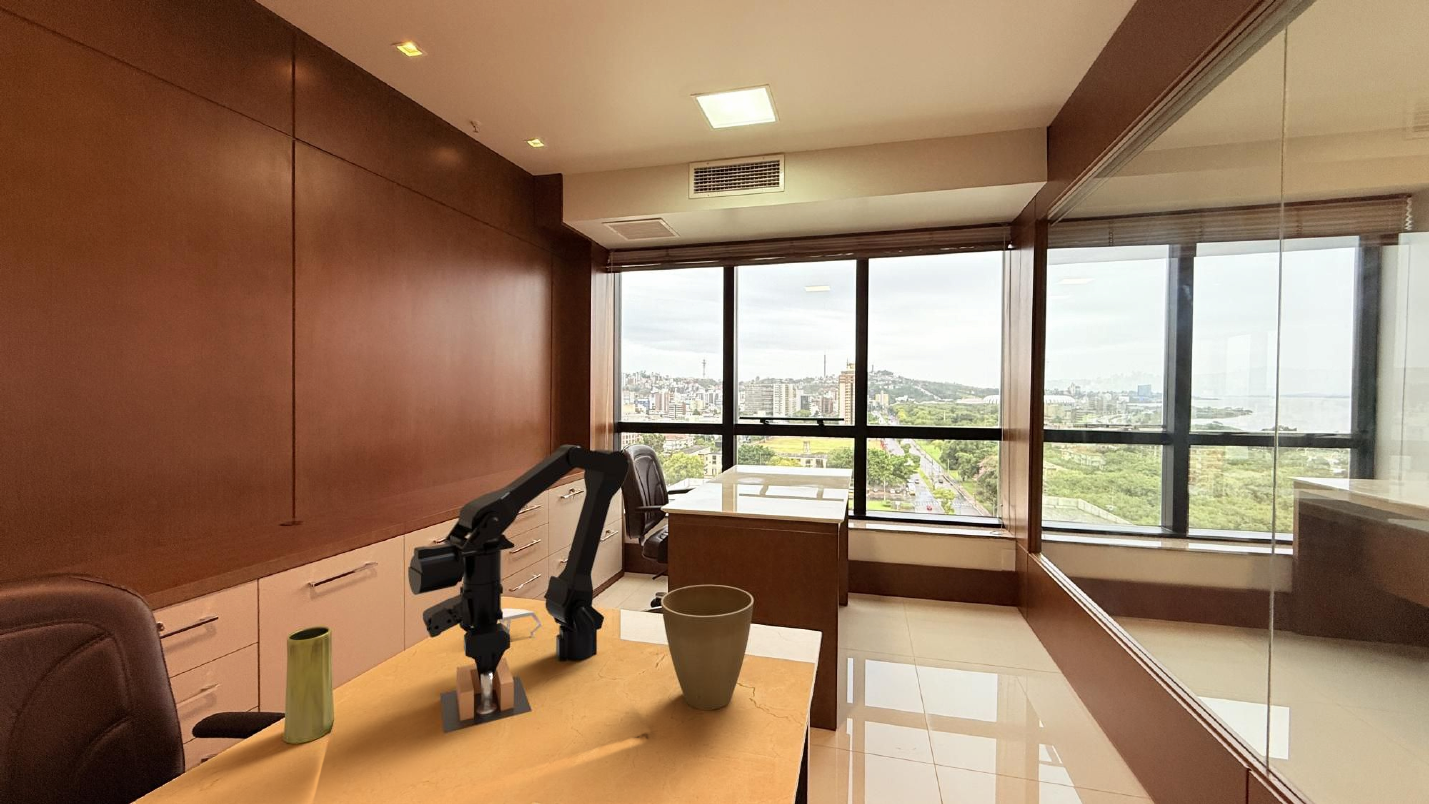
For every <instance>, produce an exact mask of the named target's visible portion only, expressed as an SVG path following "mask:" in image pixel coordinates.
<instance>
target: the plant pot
mask: <svg viewBox="0 0 1429 804" xmlns="http://www.w3.org/2000/svg"><path fill="white" fill-rule="evenodd" d="M660 604H661V605H660V606H661V612H662V617H663V626H664V629H665V631H664V632H665V635H666V639H667V640H666V641H667V646H668V649H669V653H670V658H671V661H672V665H673V667H674V671H675V674H676V678H677V680H678V683H679V686H680V688H681V692H682V694H683V697H684V699H685V701H686V703H687V704H688V705H689V706H690V707H692V708H695V709H699V710H705V711H707V710H708V711H710V710H716V709H717V710H718V709H721V708H723V707H725V706H727V705H728V704H729V703H730V701H731V699H732V697H733V694H734V692H735V688H736V686H737V683H738V679H739V677H740V674H741V670H742V665H743V662H744V659H745V654H746V651H747V650H746V649H747V646H748V642H749V641H748V640H749V637H750V636H749V635H750V631H751V624H752V618H753V611H754V610H753V608H754V597H753V595H752V594H751V593H749V592H748V591H745V590H743V589H742V588H741V589H740V588H737V587H735V586H734V587H733V586H728V585H720V584H718V585H716V584H699V585H689V586H684V587H680V588H676V589H673V590H671V591H669V592H667V593H666V594H665V595H663V596H662V598H661V600H660Z"/></svg>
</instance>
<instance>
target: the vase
mask: <svg viewBox="0 0 1429 804" xmlns="http://www.w3.org/2000/svg"><path fill="white" fill-rule="evenodd" d="M332 635H333V632H332V628H331V627H329V626H325V625H323V626H322V625H317V626H316V625H315V626H311V627H305V628H301V629H299V630H296V631H293V632H291V633H290V634H288V635H287V637H286V680H285V681H286V682H285V683H286V684H285V685H286V686H285V702H284V703H285V707H284V708H285V709H284V711H285V712H284V727H283V735H282V740H283V741H284V742H285V743H287V744H293V745H294V744H295V745H297V744H298V745H299V744H305V743H309V742H312V741H315V740H317V739H319V738H321V737H323V736H325V735H326V734H329V732H330V731H332V729H333V727H334V722H335V707H334V706H335V705H334V691H333V690H334V689H333V662H332V659H333V658H332V657H333V653H332V652H333V650H332V649H333V648H332V647H333V645H332V643H333V641H332V640H333V636H332Z"/></svg>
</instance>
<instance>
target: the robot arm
mask: <svg viewBox="0 0 1429 804" xmlns="http://www.w3.org/2000/svg"><path fill="white" fill-rule="evenodd" d="M574 469H579V470H583V471H584V473H583V479H584V484H585V491H586V492H585V497H584V500H583V503H582V507H581V510H580V515H579V517H578V521H577V525H576V529H575V530H574V531H575V532H574V536H573V538H572V542H571V546H570V549H569V552H568V556H567V561H566V564H565V567H564V569H562V571H561V573H559V575H558V576H555V575H551V576H550V577H549V581H548V587H547V590H546V592H545V594H544V595H543V599H545V603H544V604H545V609H546V611H547V613H548V615H550V616H551V617H553V619H554V622H555V623H556V624H559V627H558V628H559V629H558V632H559V633H558V634H557V635H556V636H555V639H556V640H555V648H556V651H555V656H556V658H557V661H559V662H567V661H568V662H581V661H585V660H587V659H590V658H591V657H593V656H596V655H597V657H598V656H599V655H598V645H597V644H598V633H597V632H598V631H599V630H601V629H602V628H603V627H602V626H603V623H604V619H605V616H604V615H602V613H600V612H599V611H598V610H597V609H596V608H594V607H593V600H594V587H593V586H594V585H593V579H592V572H593V567H594V565H595V560H596V556H597V553H598V550H599V546H600V542H601V538H602V535H603V533H604V528H605V523H606V521H607V516H608V513H609V509H610V506H611V503H612V499H613V497H614V496H615V495H616V494H617V493H618V491H619V490H620V489H621V488H622V487H623V485H624V483H625V480H626V479H627V475H628V474H629V471H630V461H629V458H628V457H627V455H626V454H625V452H623V451H620V450H611V449H603V448H598V449H597V448H596V449H594V450H591V449H587V448H584V447H581V446H579V445H572V444H562V445H561V446H559V447H558V448H557V449H556V451H554V452H553V453H551V454H550V455H548V456H547V457H546V458H544V459H543V460H542V461H540V462H539V463H536V464H535V465H534V466H533V467H531V468H530V469H528V470H527V471H526V472H524V473H523V474H522V475H519V477H517V478H516V479H514V480H513V481H511V482H510V483H508V484H507V485H506V486H504V487H502V488H500V489H497V490H494V491H491V492H488V493H485V494H483V495H481V496H479V497H477V498H474V499H472V500H470V501H468V502H467V503H466V504H464V505H463V506H462V507H461V508H460V509H459V514H458V520H457V521H456V523H455V524H454V526H453V527H452V528H451V530H450V531H449V533H448V534H447V536H446V537H445V539H444V540H443V543H442V544H437V545H431V546H425V545H424V546H417V547H415V548H413V555H412V556H411V560H410V563H409V566H408V568H407V569H408V570H407V572H408V573H407V574H408V575H407V576H408V582H409V583H408V584H409V588H410V590H411V592H412V594H413V595H415V596H418V595H421V594H422V595H423V594H427V593H431V592H435V591H439V590H443V589H448V588H453V587H457V586H458V584H459V583H461V582H462V584H461V586H459V594H457V595H455V596H453V597H449V598H447V599H445V600H442V601H441V602H439V603H437V604H435V605H432V606H430V607H429V608H427V609H425V610H424V611H423V612H422V621H423V622H424V626H425V628H426V632H427V633H428V634H429V637H430V638H436V637H438V636H440V635H441V634H442V633H444V632H445V631H447V630H449V629H451V628H453V627H456V626H457V625H459V628H461V629H462V630H463V631H464V632H465V633H464V635H463V650H464V656H465V657H467V658H471V659H472V660H474V662H475V663H474V664H476V667H477V671H478V676H479V681H480V686H481V673H483V672H485V671H492V677H493V675H494V673H495V671H496V668H497V666H498V664H499V662H500V660H501V658H503V656H504V654H505V651H507V650H508V649H510V648H511V633H510V631H508V629H507V625H504V624H502V623H500V622H499V620H500V619H503V612H502V610H501V609H502V594H503V593H504V587H503V585H502V551H503V550H508V549H513V548H514V547H515V543H513V542H512V541H510V540H509V539H508V538H507V536H506V534H503V533H504V532H506V530H507V529H509V527H510V526H511V525H512V524H513V523H514V522H515V521H516V520H517V517H518V516H519V514H520V512H521V511H522V509H524V508H525V506H527V505H528V504H529V503H531V502H533V500H535V499H536V498H537V497H539V496H540V495H541V494H542V493H544V492H545V491H546V490H549V488H551V487H552V486H554V485H555V484H556V483H557V482H558V481H560V480H561V479H563V478H564V477H565V476H567V475H568V474H569V473H570V472H572V471H574ZM467 536H469V537H467Z"/></svg>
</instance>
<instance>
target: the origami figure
mask: <svg viewBox="0 0 1429 804" xmlns="http://www.w3.org/2000/svg"><path fill="white" fill-rule="evenodd" d="M501 610H502V612H503V619H500V620H498V623H502V624H503V625H504V623H505V621H506V627H507V629H508V631H509V632H510V630H511V621H512V620H516V619H520V618H527V617H532V618H533V619H534V620H535V622H536V623H537V625H538V626H536V627H535V628H534V629H533V630H532V631H530V638H532V639H533V638H534V637H535V636H534V632H536V631H537V630H538V629H539V628H541V627H542V626H543V623H542V622H541V620H539V618H538V616H537V615H536V613H535V612H534V611H531V610H527V609H523V608H521V609H519V608H501Z"/></svg>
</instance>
